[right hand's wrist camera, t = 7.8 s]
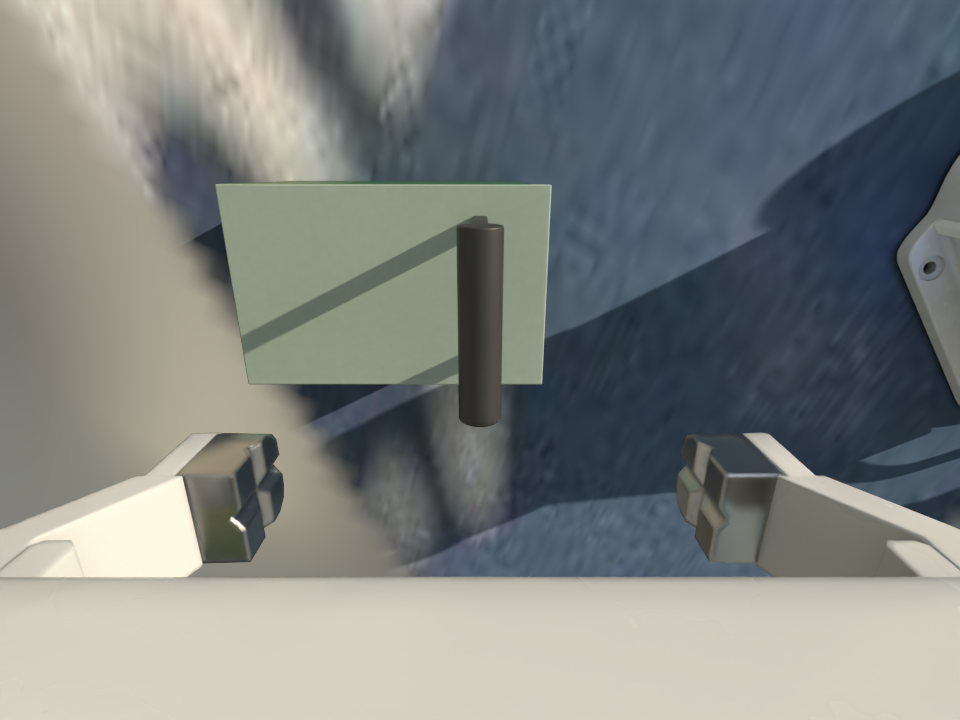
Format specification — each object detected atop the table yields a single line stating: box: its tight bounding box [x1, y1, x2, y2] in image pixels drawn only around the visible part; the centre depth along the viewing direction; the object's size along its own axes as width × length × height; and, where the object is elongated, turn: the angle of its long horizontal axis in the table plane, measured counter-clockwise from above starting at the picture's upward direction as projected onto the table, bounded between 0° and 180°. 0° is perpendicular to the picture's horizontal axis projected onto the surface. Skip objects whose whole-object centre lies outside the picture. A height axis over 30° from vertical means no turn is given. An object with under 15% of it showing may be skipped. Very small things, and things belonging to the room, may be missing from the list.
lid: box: [215, 184, 551, 427], centre depth 22 cm, size 15×10×8 cm, turn 90°
